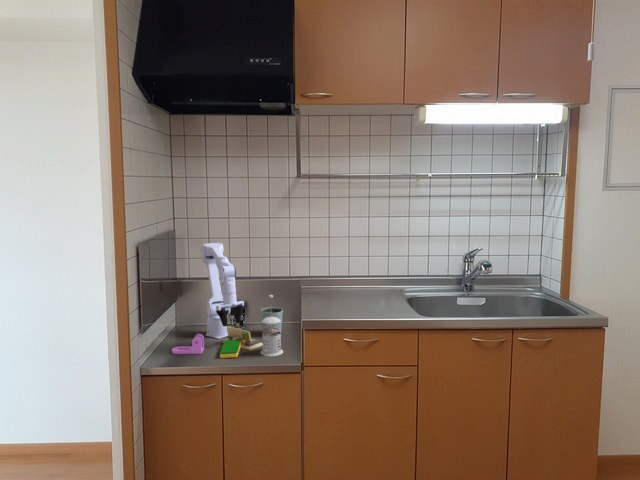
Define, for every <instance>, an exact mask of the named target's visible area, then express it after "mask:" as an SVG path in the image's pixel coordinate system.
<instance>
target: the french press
mask: <svg viewBox="0 0 640 480" xmlns="http://www.w3.org/2000/svg"><path fill="white" fill-rule="evenodd" d="M268 298H269V299H272V298H274V295H273V294H269V295H268ZM280 322H281V320H280V319H278V318H276V317H267V318H264V319H263V320H262V319H261V324H262V323H264V324H268V325H270V328H265V329H264V330H263V329H262V333H261V335H262V337H261V339H262V341H261V343H262V346H261V347H262V350H260V353H259V354H261V356H265V357H275V356H276V357H277V356H281V355H282V354H283V353H284V350H283V349H282V339H281V338H282V335H281V334H282V332H281V333H280V332H279V331H280V329H279V328H272V325H273V324H278V323H280ZM269 333H270V334H271V336H269ZM277 334H280V335H277Z"/></svg>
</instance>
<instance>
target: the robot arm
mask: <svg viewBox="0 0 640 480" xmlns="http://www.w3.org/2000/svg"><path fill="white" fill-rule="evenodd" d="M224 251H225V250H224V244H223V242H219V241H218V242H210V243H208V242H207V243H201V245H200V256H201V261H202V263H204V264H206V269H207V276H208V281H209V288H210V293H211V298H210V299H208V300H207V302H206V314H207V316H208V317H207V319H206V334H205V336H208V337H211V338H213V339H218V340H220V339H223V338H225V337H228V332H227V326H228V317H229V315H230V314H231V309H232V310H233V313H234V320H235V324H241V320H242V315H243V312H244V310H245V300H239V301H238V300H237V289H236V277H237V273H238V272H237V267H236V265H235V264H232V263H230V261H229V259H228V257H226V256H224Z"/></svg>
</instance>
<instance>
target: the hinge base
mask: <svg viewBox="0 0 640 480" xmlns="http://www.w3.org/2000/svg"><path fill="white" fill-rule="evenodd" d="M232 338H233V337H231V336H227V338H225V339H222V340H221V341H220V342H221V344H224V342H225V340H232ZM236 340H242V339H238V338H237V339H236ZM241 344H242V343H241ZM260 347H263V346H262V341H261V340H259V339H255V338H251V342H249V341H246V342H245V344H242V345H241V348H240V349H242V350H246V351H252V350H255V349H257V348H260Z"/></svg>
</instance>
